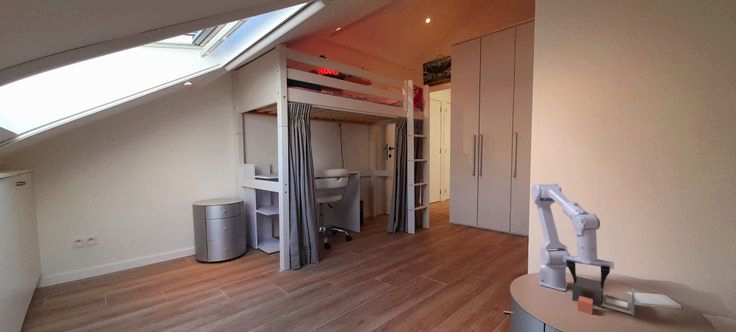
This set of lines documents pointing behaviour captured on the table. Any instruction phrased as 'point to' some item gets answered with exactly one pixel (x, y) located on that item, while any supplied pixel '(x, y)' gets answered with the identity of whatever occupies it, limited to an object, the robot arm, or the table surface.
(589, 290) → the player housing
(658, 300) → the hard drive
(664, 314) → the table surface
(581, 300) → the block
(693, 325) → the table surface
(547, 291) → the table surface
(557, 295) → the table surface
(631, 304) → the tray
